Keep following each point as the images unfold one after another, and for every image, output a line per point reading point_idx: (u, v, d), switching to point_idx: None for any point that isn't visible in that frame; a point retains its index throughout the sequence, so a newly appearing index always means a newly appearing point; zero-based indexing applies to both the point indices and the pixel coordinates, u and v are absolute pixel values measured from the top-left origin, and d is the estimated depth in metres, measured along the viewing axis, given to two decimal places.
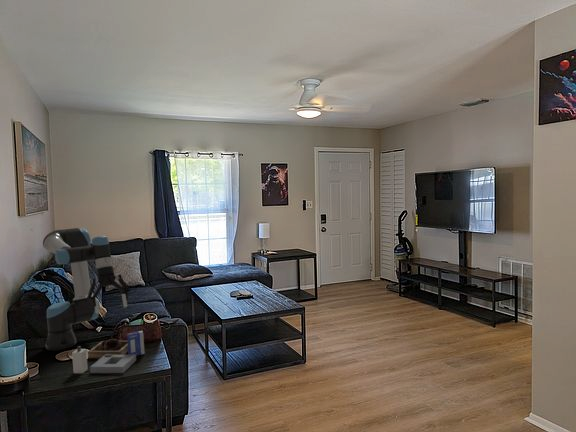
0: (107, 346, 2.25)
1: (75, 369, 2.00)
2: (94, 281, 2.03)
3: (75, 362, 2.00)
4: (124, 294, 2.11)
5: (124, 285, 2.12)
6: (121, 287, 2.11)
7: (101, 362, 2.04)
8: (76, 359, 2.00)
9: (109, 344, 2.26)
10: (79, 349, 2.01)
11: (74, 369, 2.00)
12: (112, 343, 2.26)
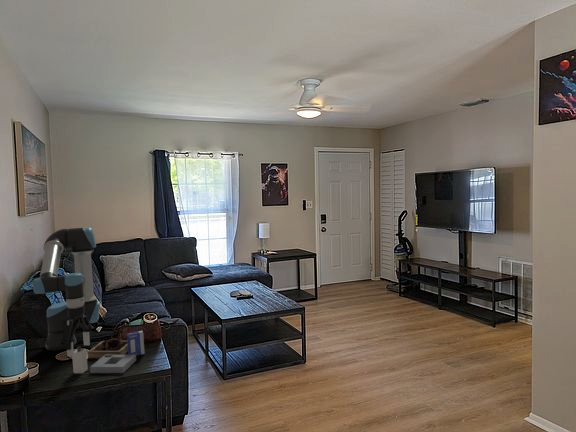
0: (108, 346, 2.25)
1: (75, 369, 2.00)
2: (71, 323, 1.94)
3: (75, 362, 2.00)
4: (88, 332, 2.07)
5: (88, 323, 2.08)
6: (86, 325, 2.06)
7: (101, 362, 2.04)
8: (76, 359, 2.00)
9: (110, 344, 2.26)
10: (79, 349, 2.01)
11: (74, 369, 2.00)
12: (113, 343, 2.27)
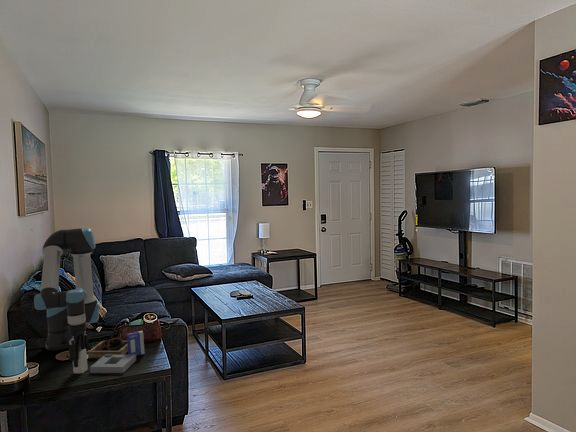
0: (110, 345, 2.26)
1: None
2: (73, 343, 1.95)
3: None
4: None
5: (86, 343, 2.06)
6: (85, 346, 2.04)
7: (101, 362, 2.04)
8: None
9: (112, 343, 2.27)
10: (79, 349, 2.01)
11: None
12: (115, 342, 2.28)
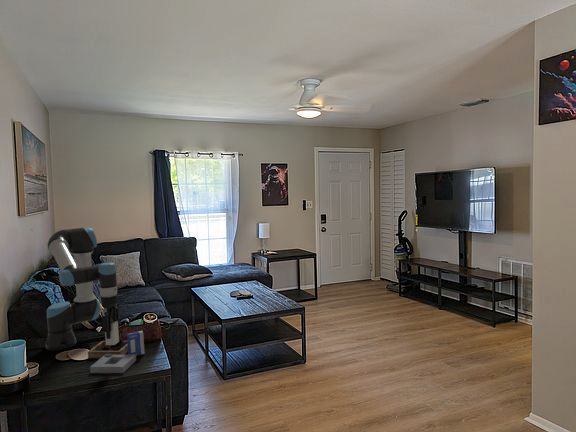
0: (111, 345, 2.26)
1: None
2: (106, 314, 1.98)
3: None
4: None
5: (118, 317, 2.09)
6: (116, 319, 2.07)
7: (101, 362, 2.04)
8: None
9: None
10: (111, 321, 2.04)
11: (106, 341, 2.03)
12: None
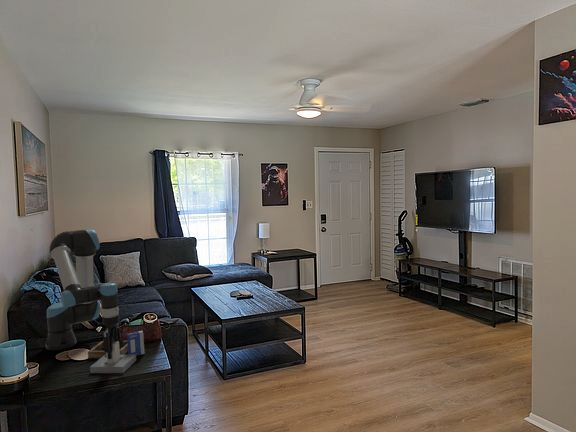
0: None
1: None
2: (108, 335, 1.99)
3: None
4: None
5: (119, 336, 2.10)
6: (117, 339, 2.08)
7: (101, 362, 2.04)
8: None
9: None
10: None
11: None
12: None
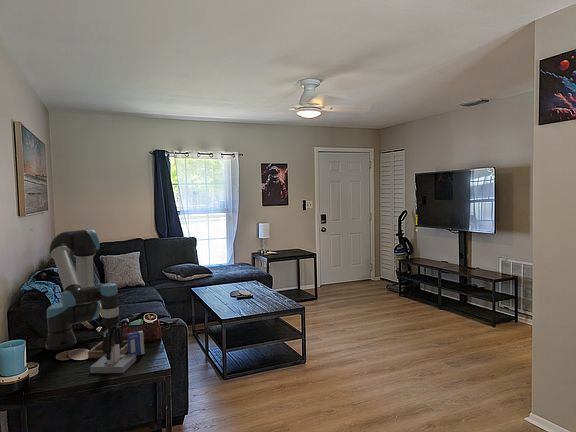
0: None
1: None
2: (108, 335, 1.99)
3: None
4: (119, 347, 2.09)
5: (119, 335, 2.11)
6: (118, 338, 2.09)
7: (101, 362, 2.04)
8: None
9: None
10: (113, 344, 2.05)
11: None
12: None
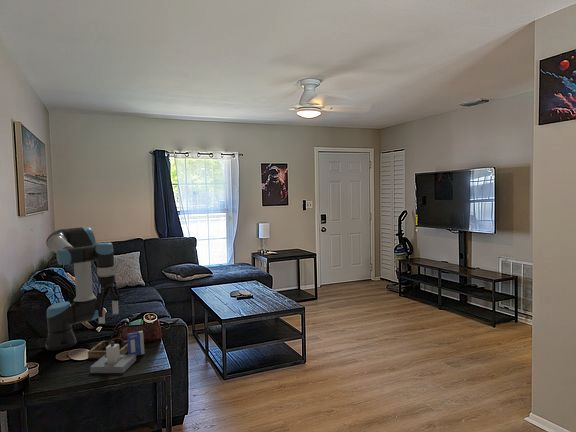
0: None
1: (109, 363, 2.04)
2: (103, 291, 1.97)
3: (109, 357, 2.04)
4: (117, 301, 2.11)
5: (117, 292, 2.11)
6: (116, 294, 2.10)
7: (101, 362, 2.04)
8: (109, 353, 2.03)
9: None
10: (113, 344, 2.05)
11: (108, 363, 2.04)
12: (115, 342, 2.28)
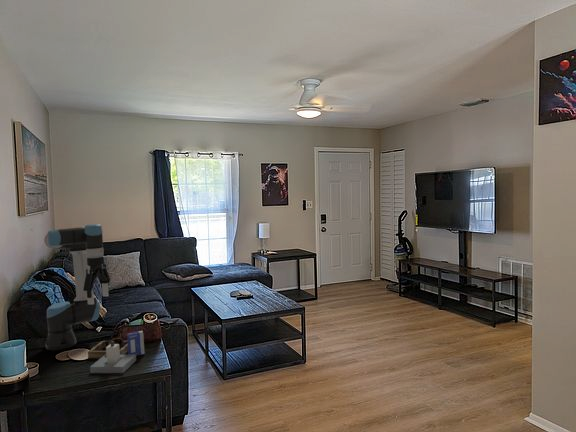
0: None
1: (109, 363, 2.04)
2: (91, 272, 1.97)
3: (109, 357, 2.04)
4: (107, 284, 2.11)
5: (107, 275, 2.12)
6: (105, 277, 2.10)
7: (101, 362, 2.04)
8: (109, 353, 2.03)
9: None
10: (113, 344, 2.05)
11: (108, 363, 2.04)
12: (115, 342, 2.28)
